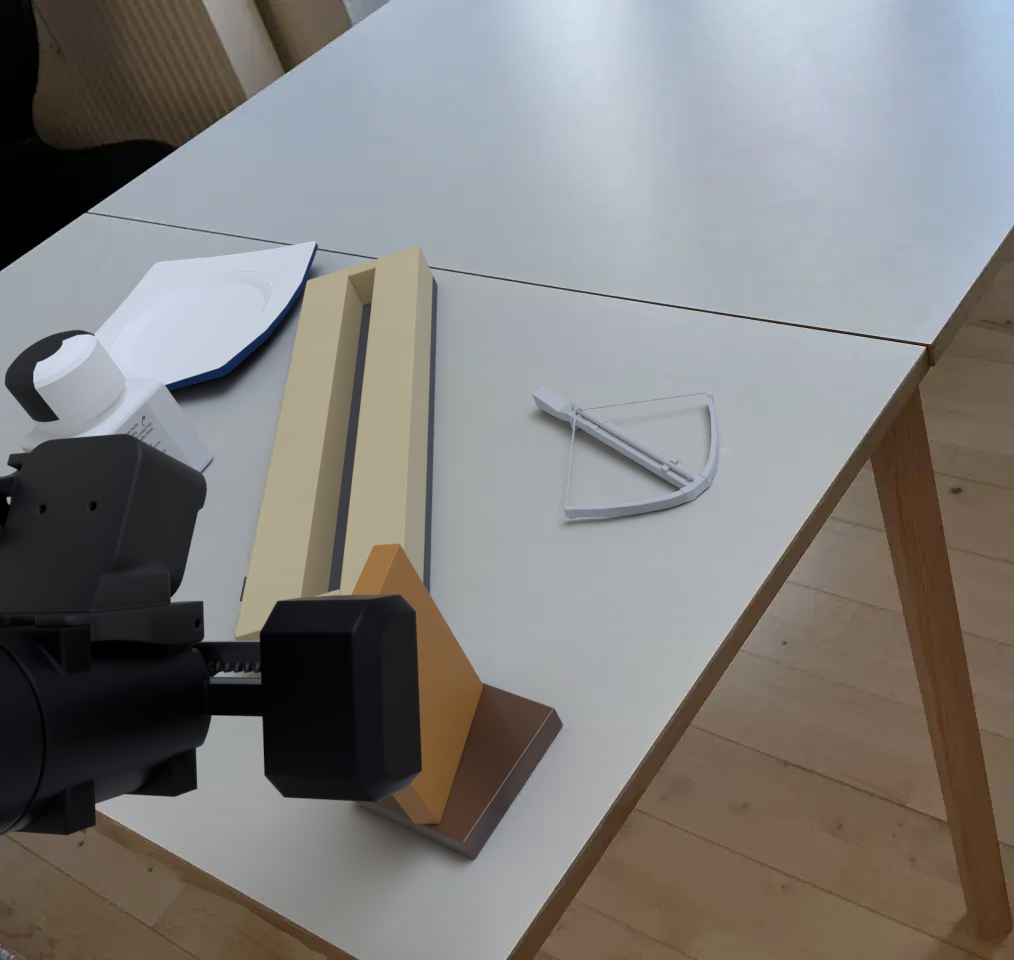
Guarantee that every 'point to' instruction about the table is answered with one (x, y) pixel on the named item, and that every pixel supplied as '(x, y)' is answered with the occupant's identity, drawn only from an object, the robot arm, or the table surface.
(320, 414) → the toaster
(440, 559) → the table surface
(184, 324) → the plate
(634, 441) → the crossbow
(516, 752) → the bread board
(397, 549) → the toast
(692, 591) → the table surface
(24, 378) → the container
